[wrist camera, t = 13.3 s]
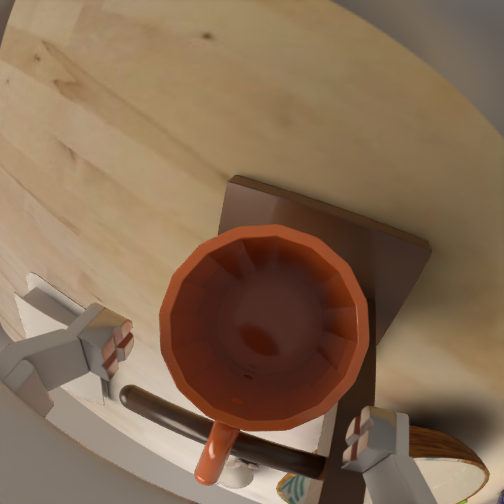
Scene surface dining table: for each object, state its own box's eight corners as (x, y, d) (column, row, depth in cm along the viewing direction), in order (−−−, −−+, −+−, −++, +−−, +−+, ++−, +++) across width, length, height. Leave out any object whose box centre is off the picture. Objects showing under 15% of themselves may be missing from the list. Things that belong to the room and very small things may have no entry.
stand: (235, 174, 21) (16, 371, 6) (428, 241, 19) (486, 520, 4) (211, 304, 28) (97, 483, 13) (361, 356, 26) (328, 562, 11)
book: (46, 356, 48) (34, 369, 45) (24, 265, 36) (5, 279, 33) (109, 401, 47) (98, 417, 44) (103, 321, 35) (84, 341, 31)
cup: (235, 249, 19) (202, 199, 10) (343, 286, 18) (394, 264, 10) (177, 408, 17) (111, 464, 9) (280, 447, 16) (280, 530, 8)
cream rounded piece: (220, 466, 39) (203, 469, 47) (235, 494, 36) (215, 492, 45) (255, 450, 42) (233, 457, 50) (270, 477, 40) (245, 479, 48)
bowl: (340, 486, 41) (331, 526, 34) (253, 415, 35) (231, 470, 28) (488, 452, 28) (491, 498, 22) (468, 355, 22) (483, 428, 16)
